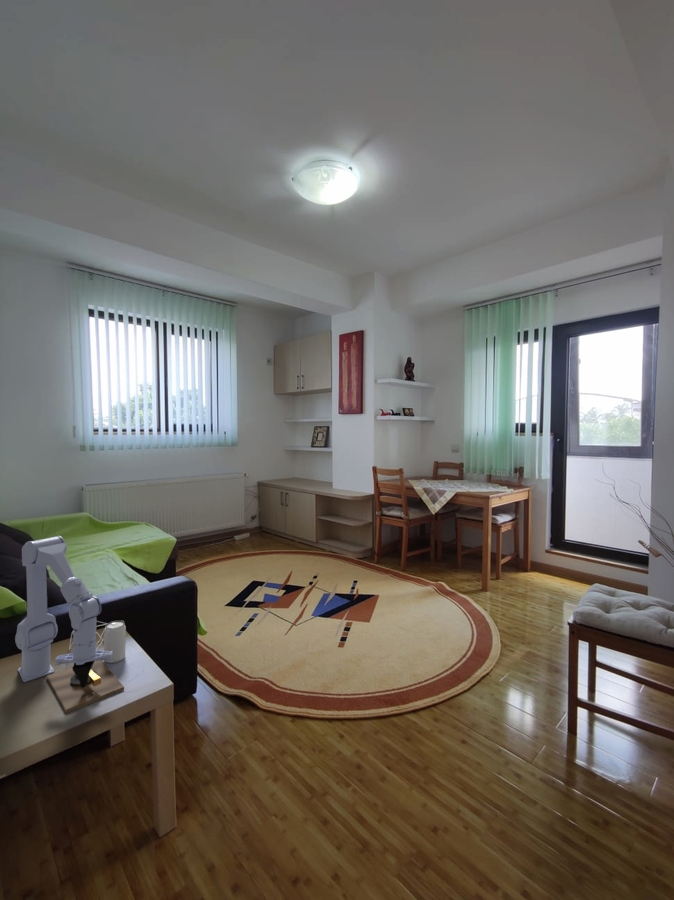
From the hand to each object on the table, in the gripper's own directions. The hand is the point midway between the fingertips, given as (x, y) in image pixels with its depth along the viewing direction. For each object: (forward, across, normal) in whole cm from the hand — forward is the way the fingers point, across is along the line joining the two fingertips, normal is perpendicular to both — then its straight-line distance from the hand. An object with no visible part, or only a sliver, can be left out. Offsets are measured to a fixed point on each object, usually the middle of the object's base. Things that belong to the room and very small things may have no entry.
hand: (84, 685), depth 120 cm
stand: (+3, -2, +6) cm, 7 cm away
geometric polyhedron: (+3, -8, +28) cm, 29 cm away
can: (+3, +3, +20) cm, 20 cm away
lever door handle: (+2, 0, +4) cm, 5 cm away
